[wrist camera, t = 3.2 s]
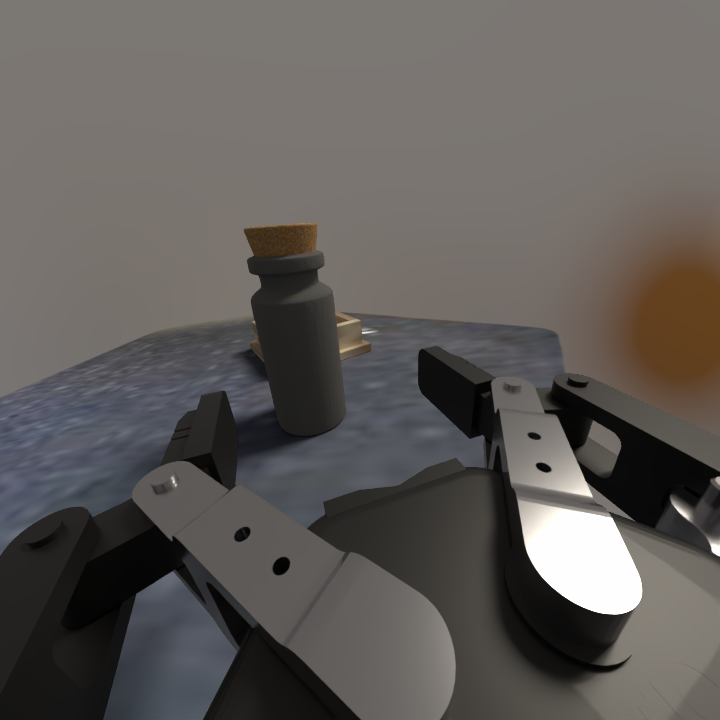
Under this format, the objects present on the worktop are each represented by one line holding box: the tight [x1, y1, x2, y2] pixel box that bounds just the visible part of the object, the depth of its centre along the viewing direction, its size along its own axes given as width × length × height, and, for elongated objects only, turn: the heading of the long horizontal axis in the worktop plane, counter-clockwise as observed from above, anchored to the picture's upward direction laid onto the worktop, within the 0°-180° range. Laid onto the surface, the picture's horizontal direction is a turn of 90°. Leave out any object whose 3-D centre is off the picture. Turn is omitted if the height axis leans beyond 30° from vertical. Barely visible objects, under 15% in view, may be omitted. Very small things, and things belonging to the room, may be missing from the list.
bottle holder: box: [250, 311, 371, 362], centre depth 38 cm, size 12×12×4 cm
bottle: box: [244, 223, 346, 436], centre depth 22 cm, size 6×6×15 cm
